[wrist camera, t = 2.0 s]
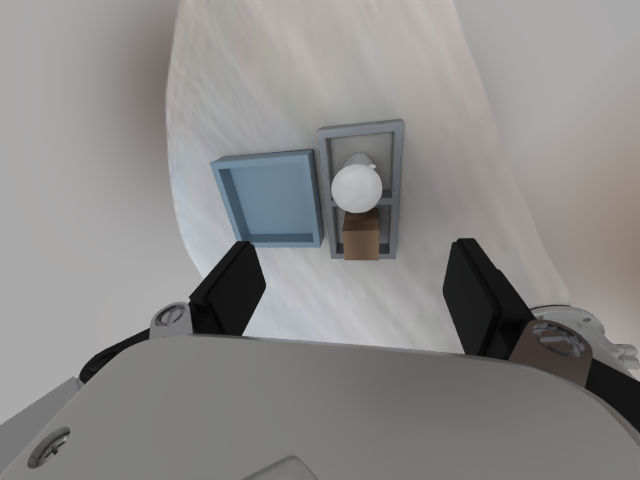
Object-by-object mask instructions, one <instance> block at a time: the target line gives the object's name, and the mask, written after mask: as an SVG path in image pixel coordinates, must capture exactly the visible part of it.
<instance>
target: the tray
mask: <svg viewBox="0 0 640 480" xmlns="http://www.w3.org/2000/svg"><path fill="white" fill-rule="evenodd" d="M210 165H211V168H212V170H213V173H214V176H215V179H216V182H217V185H218V188H219V191H220V193H221V196H222V199H223V202H224V205H225V208H226V211H227V214H228V217H229V219H230V222H231V225H232V228H233V231H234V234H235V237H236V240H237V241H250V243H251V244H253V245H254V247H321V244H322V241H323V237H324V233H323V224H322V216H321V208H320V200H319V192H318V184H317V176H316V167H315V159H314V151H313V149H308V150H297V151H286V152H274V153H263V154H252V155H241V156H230V157H222V158H220V159H218V160H215V161H213V162H211V163H210Z"/></svg>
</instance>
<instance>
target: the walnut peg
mask: <svg viewBox="0 0 640 480" xmlns="http://www.w3.org/2000/svg"><path fill="white" fill-rule="evenodd" d="M342 233H343V246H344V259H345V260H379V221H378V208H372V209H370V210H369V211H366V212H362V213H351V212H348V211H346V215H345V220H344V225H343V231H342Z"/></svg>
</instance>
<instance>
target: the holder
mask: <svg viewBox="0 0 640 480" xmlns="http://www.w3.org/2000/svg"><path fill="white" fill-rule="evenodd" d="M403 129H404V121H403V120H402V119H396V120H387V121H378V122H369V123H359V124H350V125H341V126H332V127H322V128H320V129H319V130H317V135H318V144H319V153H320V162H321V171H322V180H323V189H324V198H325V207H326V216H327V225H328V234H329V243H330V252H331V259H344V246H343V244H338V234H337V223H336V212H335V207H339V206H338V205H337V204H336V202H335V200H334V199H333V197H332V193H331V186H332V182H333V177H332V166H331V155H330V143H329V138H332V137H342V136H353V135H363V134H373V133H383V132H393V134H392V159H391V184H390V190H388V191H382V195H381V197H380V199H379V201H378V202H377V204H376V205H390V209H389V233H388V244H379V259H396V243H397V226H398V210H399V194H400V178H401V162H402V146H403Z"/></svg>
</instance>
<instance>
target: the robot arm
mask: <svg viewBox="0 0 640 480" xmlns="http://www.w3.org/2000/svg"><path fill="white" fill-rule="evenodd" d="M265 288H266V282H265V279H264V276H263V273H262V270H261V266H260V263H259V260H258V257H257V253H256V250H255V247H254V245H253V244H251V243H250V241H237V242H236V243H235V244H234V245H233V246H232V248H231V249H230V250H229V251H228V252H227V253H226V255H225V256H224V257H223V258H222V259H221V260H220V262H219V263H218V264H217V265H216V266H215V267H214V269H213V270H212V271H211V272H210V273H209V274H208V276H207V277H206V278H205V279H204V280H203V281H202V283H201V284H200V285H199V286H198V287H197V288H196V289H195V291H194V292H193V293H192V294H191V295H190V296H189V298H190V300H191V301H190V302H189V303H188V304H187V303H185V302H176V303H173V304H170V305H168V306H166V307H164V308H163V309H161V310H160V311H158V312H157V313H156V314H155V315H154V317H153V319H152V320H151V324H150V328H148V329H146V330H144V331H142V332H140V333H138V334H136V335H134V336H132V337H130V338H128V339H126V340H124V341H122V342H120V343H117V344H116V345H113V346H111V347H109V348H107V349H105V350H104V351H102V352H100V353H98V354H96V355H95V356H94V357H93V358H92V359H91V360H90V361H88V363H87V364H86V365H85V366H84V367H83V369H82V370H81V373H80V375H79V377H78V378H77V379H76V378H75V377H72V378H70V379H69V380H67V381H66V382H64V383H63V384H61V385H60V386H58V387H57V388H55V389H54V390H52V391H51V392H49V393H48V394H46V395H45V396H43V397H42V398H40V399H39V400H37V401H36V402H34V403H33V404H31V405H30V406H28V407H27V408H25V409H24V410H22V411H21V412H19V413H18V414H16V415H15V416H13V417H12V418H10V419H9V420H7V421H6V422H4V423H3V424H2V425H0V480H640V382H639V381H637V380H636V379H635V378H634V377H633V376H632V375H631V373H630V372H629V371H628V370H627V369H636V370H637V369H639V368H640V363H639V361H638V359H637V358H636V357H635V355H637V349H636V348H635V347H634V346H632V345H628V344H613V343H611V342H610V341H609V340H608V339H607V338H606V337H605V336H604V333H605V330H604V327H603V325H602V324H601V322H600V321H599V320H598V319H597V318H596V317H595V316H593V314H591V313H589V312H587V311H585V310H582V309H579V308H574V307H568V306H550V307H542V308H537V309H533V310H530V309H529V308H528V306H527V305H526V304H525V302H524V301H523V300H522V298H521V297H520V296H519V294H518V293H517V292H516V290H515V289H514V288H513V286H512V285H511V284H510V282H509V281H508V280H507V278H506V277H505V276H504V274H503V273H502V272H501V271H500V270H499V269H496V267H495V266H494V265H493V263H492V262H491V261H490V259H489V258H488V256H487V255H486V254H485V252H484V251H483V250H482V248H481V247H480V245H479V244H478V243H477V241H476V240H475V239H474V238H459V239H458V240H457V242H453V243H452V246H451V251H450V256H449V261H448V265H447V270H446V275H445V280H444V285H443V296H444V298H445V301H446V304H447V306H448V309H449V312H450V315H451V317H452V320H453V323H454V325H455V328H456V331H457V333H458V336H459V339H460V341H461V344H462V347H463V349H464V352H465V354H457V353H446V352H436V351H426V350H415V349H403V348H391V347H378V346H366V345H354V344H341V343H329V342H316V341H303V340H290V339H276V338H262V337H248V336H242V334H243V332H244V330H245V328H246V326H247V324H248V322H249V321H250V319H251V317H252V315H253V313H254V311H255V309H256V307H257V305H258V303H259V301H260V299H261V297H262V295H263V293H264V291H265Z"/></svg>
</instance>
